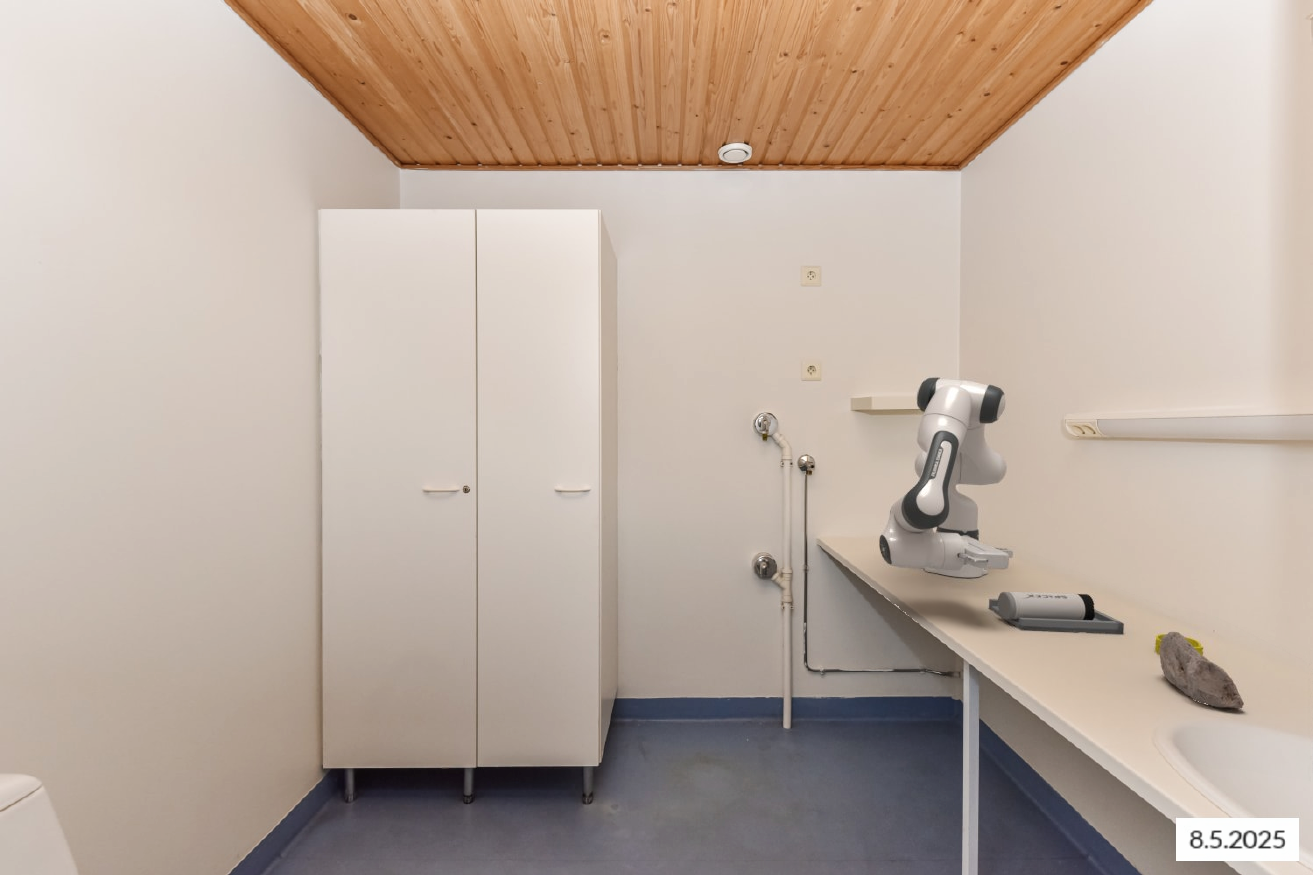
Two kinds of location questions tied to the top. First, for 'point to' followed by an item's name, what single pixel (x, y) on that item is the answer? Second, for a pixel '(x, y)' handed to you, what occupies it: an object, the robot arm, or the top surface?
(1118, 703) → the top surface
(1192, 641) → the bracelet
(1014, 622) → the slate tray
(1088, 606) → the travel mug
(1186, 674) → the pumice stone
